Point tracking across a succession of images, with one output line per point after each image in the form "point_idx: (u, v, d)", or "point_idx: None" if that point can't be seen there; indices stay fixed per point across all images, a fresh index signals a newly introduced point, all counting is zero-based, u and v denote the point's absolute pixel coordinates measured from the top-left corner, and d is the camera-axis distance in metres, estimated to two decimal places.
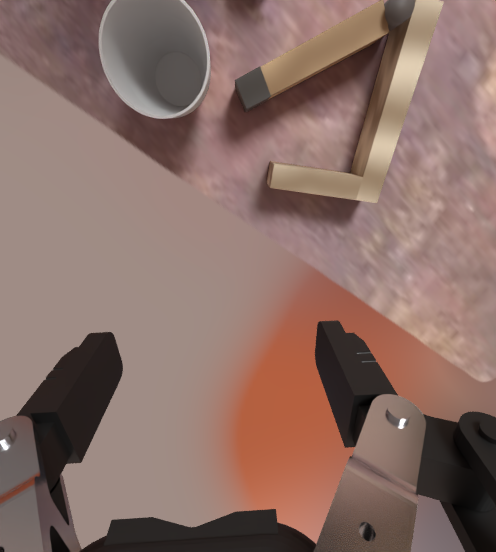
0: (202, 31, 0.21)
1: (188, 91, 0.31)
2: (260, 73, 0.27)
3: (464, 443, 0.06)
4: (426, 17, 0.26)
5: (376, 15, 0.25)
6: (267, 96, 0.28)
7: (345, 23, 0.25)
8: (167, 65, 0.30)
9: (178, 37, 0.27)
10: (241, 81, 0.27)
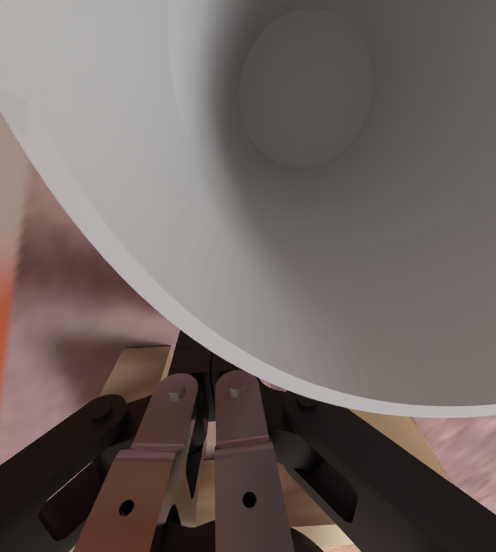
0: None
1: (279, 132, 0.11)
2: None
3: (293, 422, 0.07)
4: None
5: None
6: None
7: (431, 461, 0.13)
8: (338, 54, 0.10)
9: (427, 95, 0.08)
10: None
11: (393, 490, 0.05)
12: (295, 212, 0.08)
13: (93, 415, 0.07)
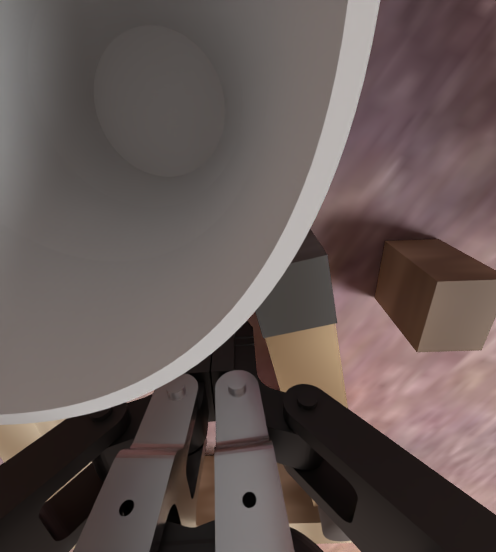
0: (152, 379, 0.03)
1: (141, 142, 0.11)
2: (321, 321, 0.10)
3: (293, 422, 0.07)
4: None
5: None
6: (264, 330, 0.10)
7: None
8: (184, 68, 0.10)
9: (242, 110, 0.08)
10: (317, 272, 0.09)
11: (393, 490, 0.05)
12: (111, 223, 0.09)
13: (93, 415, 0.07)
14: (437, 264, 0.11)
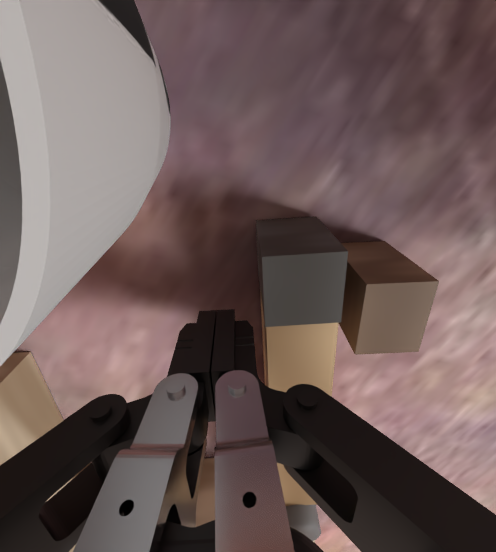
0: None
1: None
2: (326, 318, 0.10)
3: (293, 422, 0.07)
4: None
5: (305, 497, 0.15)
6: (268, 319, 0.10)
7: None
8: None
9: None
10: (334, 268, 0.09)
11: (393, 490, 0.05)
12: None
13: (93, 415, 0.07)
14: (373, 266, 0.11)
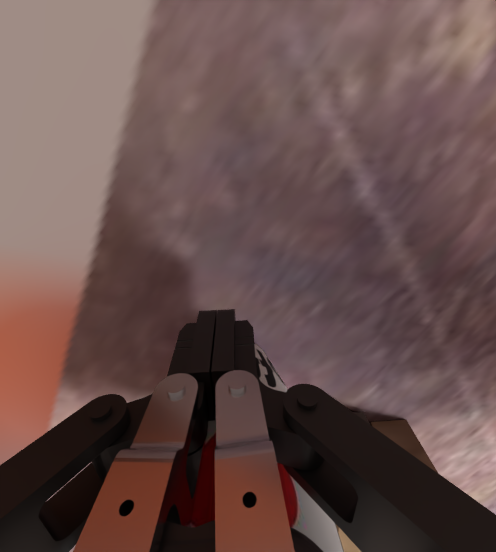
0: None
1: None
2: None
3: (293, 422, 0.07)
4: None
5: None
6: None
7: None
8: None
9: None
10: None
11: (393, 490, 0.05)
12: None
13: (93, 415, 0.07)
14: None
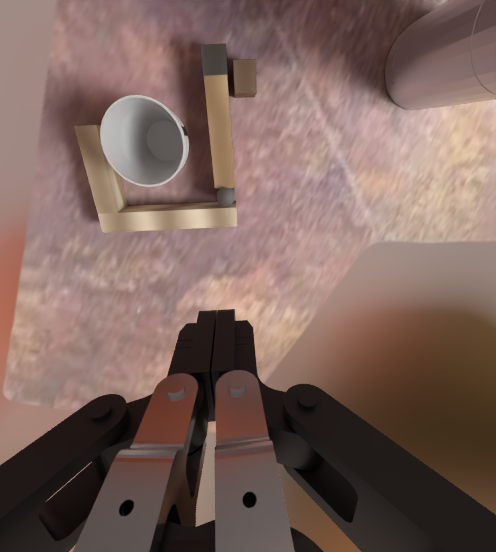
0: (170, 177, 0.29)
1: (160, 151, 0.37)
2: (222, 72, 0.30)
3: (293, 422, 0.07)
4: (226, 218, 0.38)
5: (227, 181, 0.35)
6: (203, 71, 0.30)
7: (230, 157, 0.34)
8: (171, 130, 0.36)
9: None
10: (222, 50, 0.29)
11: (393, 490, 0.05)
12: (156, 171, 0.35)
13: (93, 415, 0.07)
14: None
